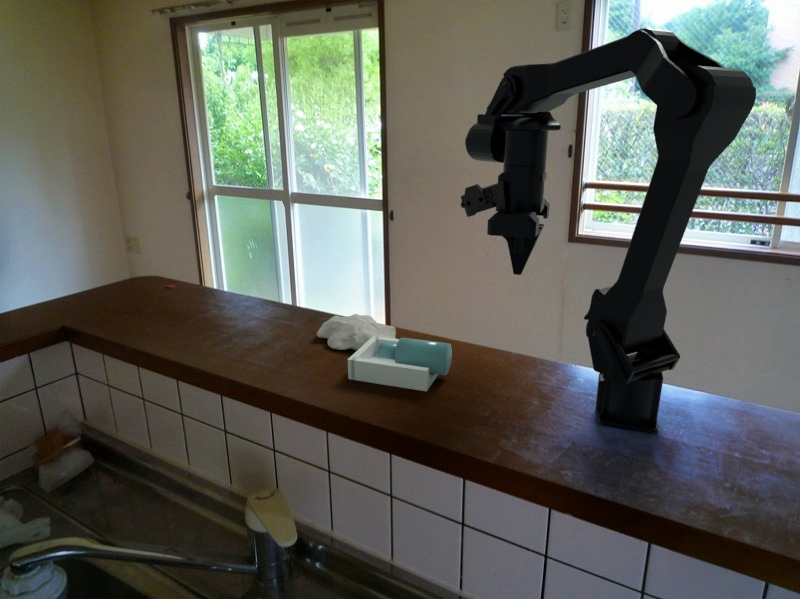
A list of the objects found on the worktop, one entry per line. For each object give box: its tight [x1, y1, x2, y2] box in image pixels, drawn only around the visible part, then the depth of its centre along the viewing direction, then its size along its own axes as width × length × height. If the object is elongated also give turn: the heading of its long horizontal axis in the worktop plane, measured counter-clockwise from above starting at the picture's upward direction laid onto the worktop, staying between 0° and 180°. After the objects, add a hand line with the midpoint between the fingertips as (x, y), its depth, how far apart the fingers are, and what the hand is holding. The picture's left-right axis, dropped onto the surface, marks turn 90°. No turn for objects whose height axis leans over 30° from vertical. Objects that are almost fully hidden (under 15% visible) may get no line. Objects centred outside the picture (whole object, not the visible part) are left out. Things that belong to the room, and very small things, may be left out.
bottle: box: [378, 337, 453, 376], centre depth 78 cm, size 4×4×10 cm
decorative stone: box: [316, 313, 397, 352], centre depth 91 cm, size 11×4×15 cm
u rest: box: [347, 336, 439, 392], centre depth 80 cm, size 12×9×3 cm
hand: (517, 274), depth 81 cm, fingers closed
